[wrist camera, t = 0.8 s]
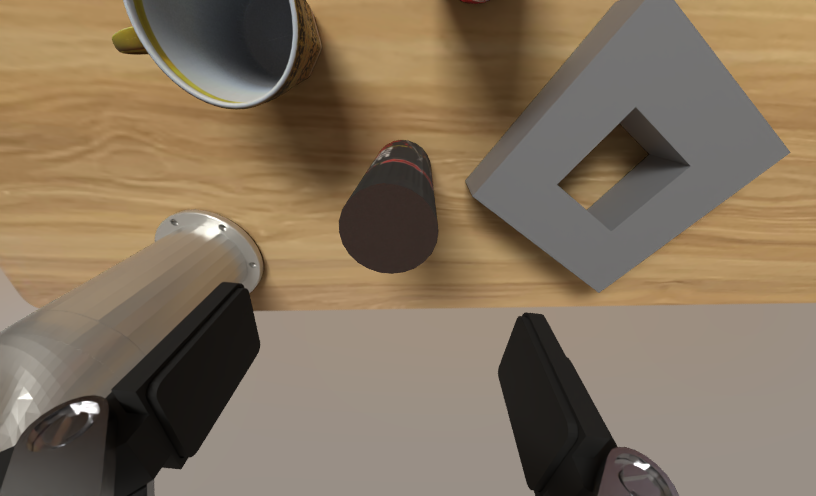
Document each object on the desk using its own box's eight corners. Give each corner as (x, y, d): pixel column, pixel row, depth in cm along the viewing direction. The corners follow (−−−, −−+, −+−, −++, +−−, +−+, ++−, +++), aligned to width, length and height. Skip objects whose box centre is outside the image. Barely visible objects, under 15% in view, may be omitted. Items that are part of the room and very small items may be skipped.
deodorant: (400, 126, 28) (382, 160, 15) (442, 168, 30) (459, 231, 17) (363, 170, 30) (319, 233, 17) (404, 207, 32) (393, 289, 19)
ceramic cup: (318, -55, 22) (251, -148, 13) (354, 90, 27) (321, 91, 18) (170, -12, 24) (24, -70, 15) (228, 118, 28) (143, 131, 20)
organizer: (576, 267, 35) (599, 292, 31) (465, 180, 30) (472, 196, 26) (732, 142, 28) (790, 152, 23) (615, 2, 23) (660, -18, 19)
